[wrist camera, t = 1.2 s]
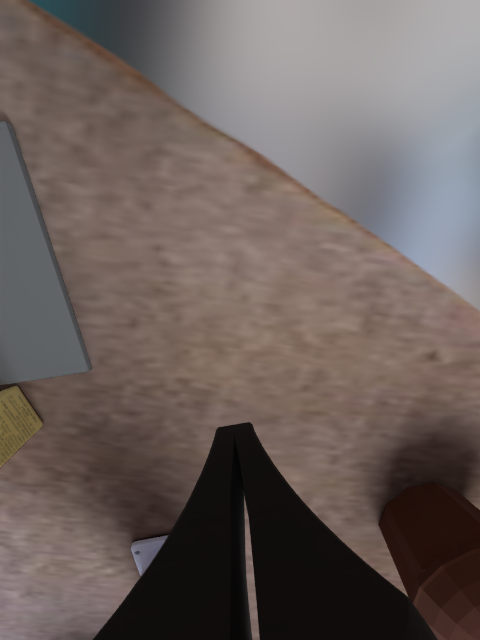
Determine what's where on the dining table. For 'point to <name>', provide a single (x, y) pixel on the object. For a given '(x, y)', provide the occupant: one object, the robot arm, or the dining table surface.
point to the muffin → (437, 557)
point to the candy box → (15, 422)
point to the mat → (31, 283)
